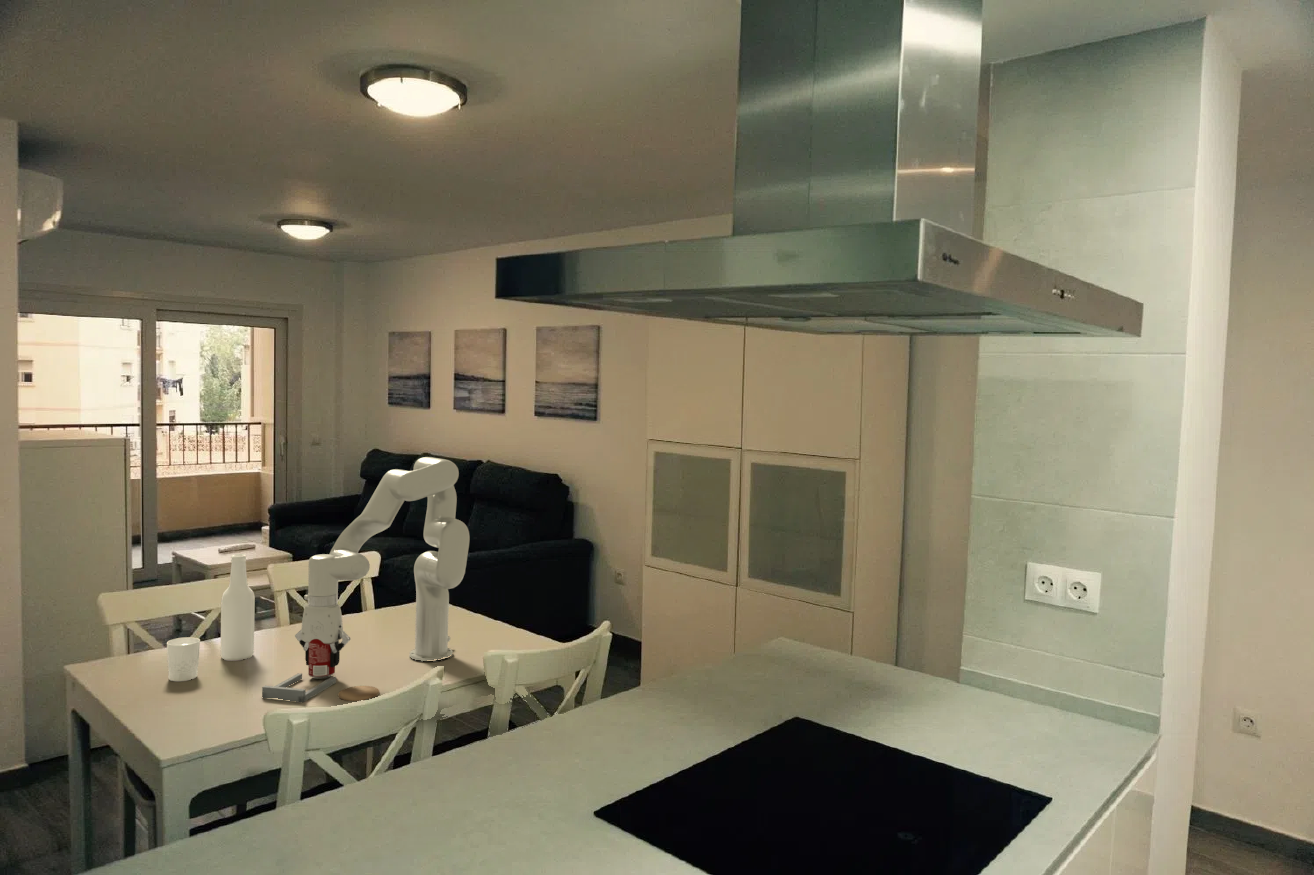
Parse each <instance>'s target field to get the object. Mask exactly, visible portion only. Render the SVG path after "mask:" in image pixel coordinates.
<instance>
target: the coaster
mask: <svg viewBox="0 0 1314 875" xmlns="http://www.w3.org/2000/svg"><path fill="white" fill-rule="evenodd" d="M379 694H380V689H379V688H377V687H375V686H371V685H354V686H349V687H346V688H343V689H342V690H340V691H339V692H338V694H337V695H338V696H337V697H338V698H339V699H340V700H343V701H347V702H360V701H359V700H363V701H367V700H366V699H369V698H372V699H374V698H377V697H378V695H379ZM373 697H374V698H373ZM369 700H370V699H369Z"/></svg>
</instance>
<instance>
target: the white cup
mask: <svg viewBox="0 0 1314 875" xmlns="http://www.w3.org/2000/svg"><path fill="white" fill-rule="evenodd" d="M200 646H201V639H200V638H197V637H191V636H188V637H187V636H185V637H178V638H173V639H170V640H168V641H167V642H166V656H167V660H166V662H167V670H168V672H167V673H168V679H169V681H171V682H187V681H191V679H192V680H194V679H196V678H197V677H198V670H199V663H200V662H199V659H200V648H201V647H200Z"/></svg>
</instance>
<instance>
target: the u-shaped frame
mask: <svg viewBox="0 0 1314 875" xmlns="http://www.w3.org/2000/svg"><path fill="white" fill-rule="evenodd" d="M300 679H302V680H303V673H297V674H294V675H293V676H290V677H289V678H288V679H286V680H284V681H281V682H279V683H277V684H276V685H263V686H262V687H261V698H262V697H263V698H278V699H283V700H290V701H289V702H291V701H296V702H295V703H301V702H302V703H304V702H306V701H308V700H309V699H311V698H312V697H315V696H316V695H318V694H319V693H321V692H323V691H324V690H326V689H328V688H329V687H331V686H333V685H335V684H336V683H337V676H330V677H328V678H326V679H325V680H324V681H322V682H321V683H319V684H316V685H315V686H313V687H312V688H309V689H308V690H307V691H306V689H303V688H294V687H290V686H289V685H291V684H293V683H294V684H296V683H298V682H300V681H301V680H300ZM299 680H300V681H299ZM297 681H298V682H297ZM295 682H296V683H295ZM294 684H293V685H294ZM287 686H289V687H287ZM291 686H292V685H291ZM286 687H287V688H286Z"/></svg>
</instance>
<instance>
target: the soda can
mask: <svg viewBox="0 0 1314 875" xmlns="http://www.w3.org/2000/svg"><path fill="white" fill-rule="evenodd" d="M316 636H317V635H316ZM331 653H332V649H331V647H330V644H324V643H323V642H322V641H321V640H319V639H313V640H311V641H310V642H309V665H308V674H307V675H308V676H309V677H310V678H312V679H317V680H318V679H319V680H320V679H321V680H323V679H329V678H331V677H332V676H333V675H335V673H336V666H335V667H330V654H331Z"/></svg>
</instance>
